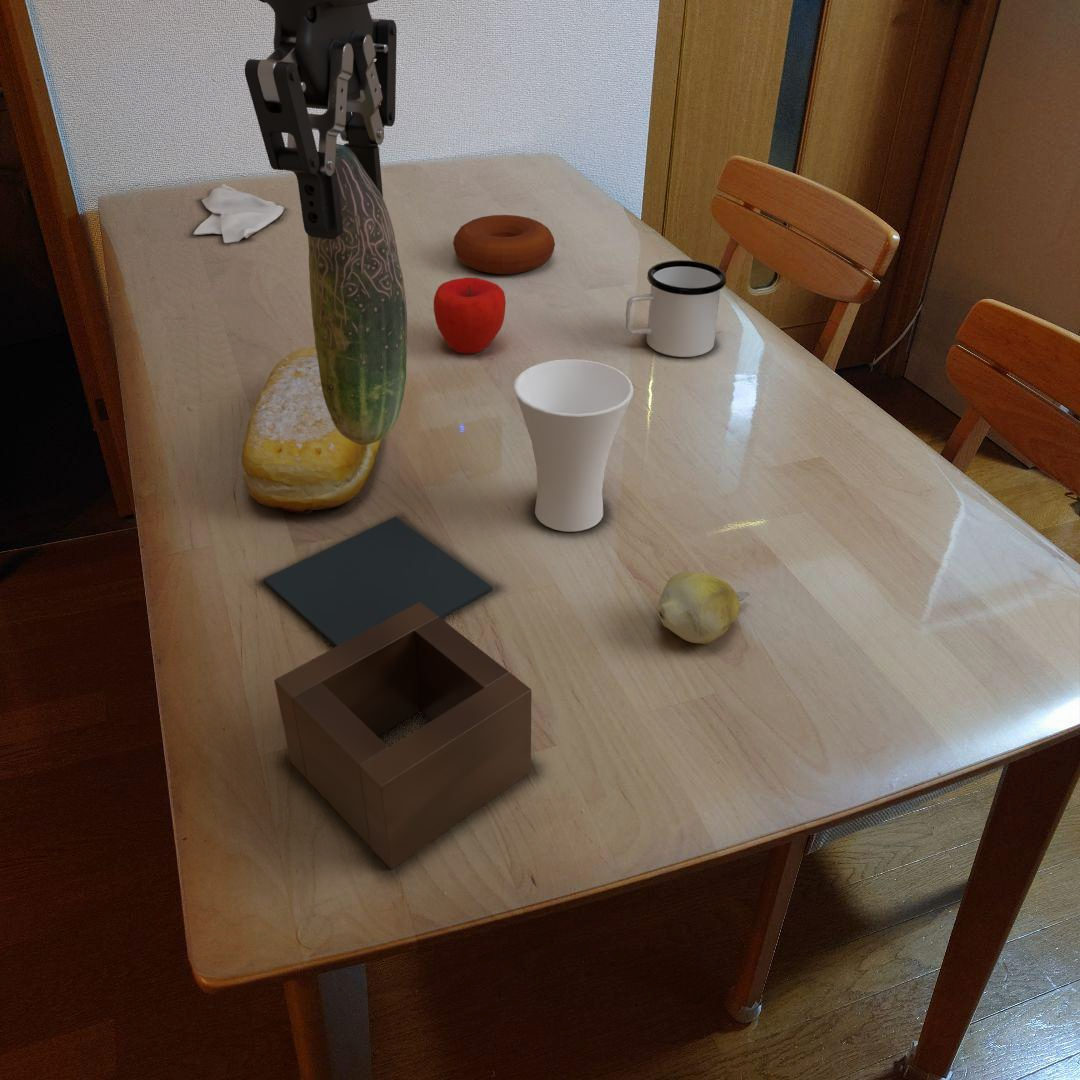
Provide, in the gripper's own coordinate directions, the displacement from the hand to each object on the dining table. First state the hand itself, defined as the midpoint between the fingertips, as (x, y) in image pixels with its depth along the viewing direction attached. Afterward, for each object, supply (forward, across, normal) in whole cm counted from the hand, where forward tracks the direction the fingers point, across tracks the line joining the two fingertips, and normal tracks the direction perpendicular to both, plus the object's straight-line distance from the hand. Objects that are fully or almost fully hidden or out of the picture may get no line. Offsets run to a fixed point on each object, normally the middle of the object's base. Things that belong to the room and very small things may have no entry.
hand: (345, 219), depth 62 cm
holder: (+34, +13, +8) cm, 37 cm away
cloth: (+34, -84, -65) cm, 112 cm away
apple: (+34, -51, -12) cm, 63 cm away
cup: (+34, -20, +9) cm, 41 cm away
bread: (+34, -23, -18) cm, 45 cm away
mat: (+34, -5, -3) cm, 34 cm away
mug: (+34, -60, +11) cm, 70 cm away
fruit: (+34, -9, +24) cm, 43 cm away
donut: (+34, -80, -18) cm, 89 cm away
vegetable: (+16, 0, 0) cm, 16 cm away
